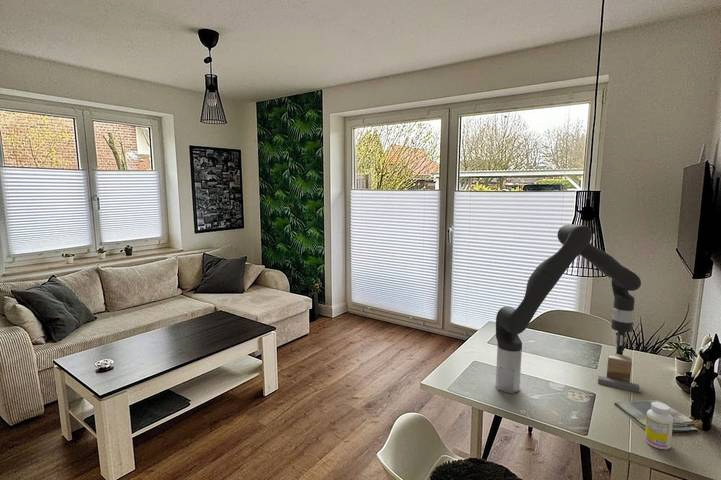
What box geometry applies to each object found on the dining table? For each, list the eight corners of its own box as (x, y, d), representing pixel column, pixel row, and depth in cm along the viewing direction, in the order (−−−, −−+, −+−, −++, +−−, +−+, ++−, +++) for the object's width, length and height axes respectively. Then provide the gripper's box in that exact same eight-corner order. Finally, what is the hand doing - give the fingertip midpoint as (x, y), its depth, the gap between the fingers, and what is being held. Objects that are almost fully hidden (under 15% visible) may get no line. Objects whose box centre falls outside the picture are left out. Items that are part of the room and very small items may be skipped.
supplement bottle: (654, 435, 126) (657, 398, 125) (676, 448, 120) (679, 409, 118) (639, 439, 124) (642, 401, 123) (660, 452, 118) (663, 412, 116)
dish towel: (612, 405, 145) (612, 397, 144) (658, 404, 145) (659, 396, 145) (649, 436, 126) (650, 427, 126) (702, 435, 127) (704, 426, 126)
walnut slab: (629, 386, 158) (631, 361, 156) (606, 380, 162) (608, 357, 160) (629, 380, 161) (631, 356, 159) (606, 376, 166) (608, 352, 164)
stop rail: (639, 392, 153) (639, 387, 152) (597, 383, 160) (598, 378, 160) (638, 389, 155) (639, 384, 155) (598, 380, 163) (598, 375, 162)
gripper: (634, 325, 154) (630, 366, 156) (632, 316, 165) (629, 354, 167) (612, 321, 158) (608, 361, 160) (611, 313, 169) (608, 350, 171)
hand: (619, 357), depth 164 cm, fingers closed
